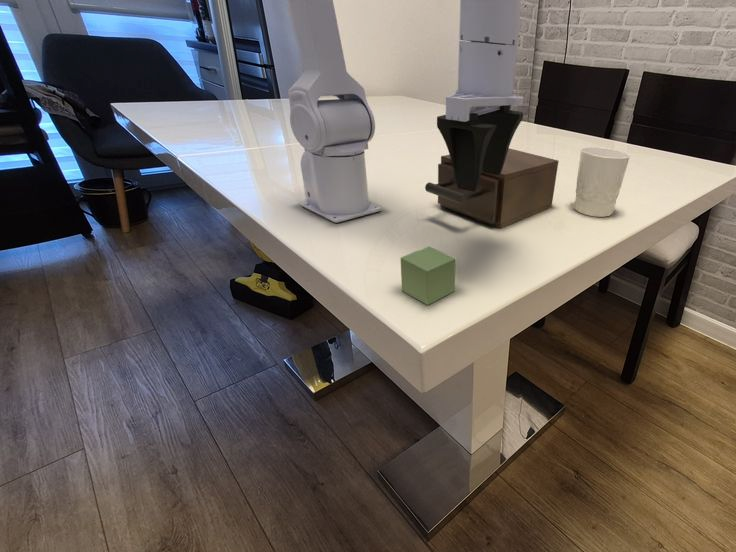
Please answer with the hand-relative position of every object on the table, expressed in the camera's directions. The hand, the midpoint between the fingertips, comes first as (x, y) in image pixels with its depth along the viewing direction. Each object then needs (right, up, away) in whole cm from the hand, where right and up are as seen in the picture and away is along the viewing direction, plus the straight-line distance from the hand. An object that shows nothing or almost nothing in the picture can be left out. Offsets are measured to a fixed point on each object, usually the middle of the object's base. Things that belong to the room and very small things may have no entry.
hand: (480, 180), depth 46 cm
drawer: (-1, +1, +19) cm, 19 cm away
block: (-5, -13, -3) cm, 14 cm away
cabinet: (+2, +1, +22) cm, 22 cm away
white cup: (+19, +1, +25) cm, 31 cm away
